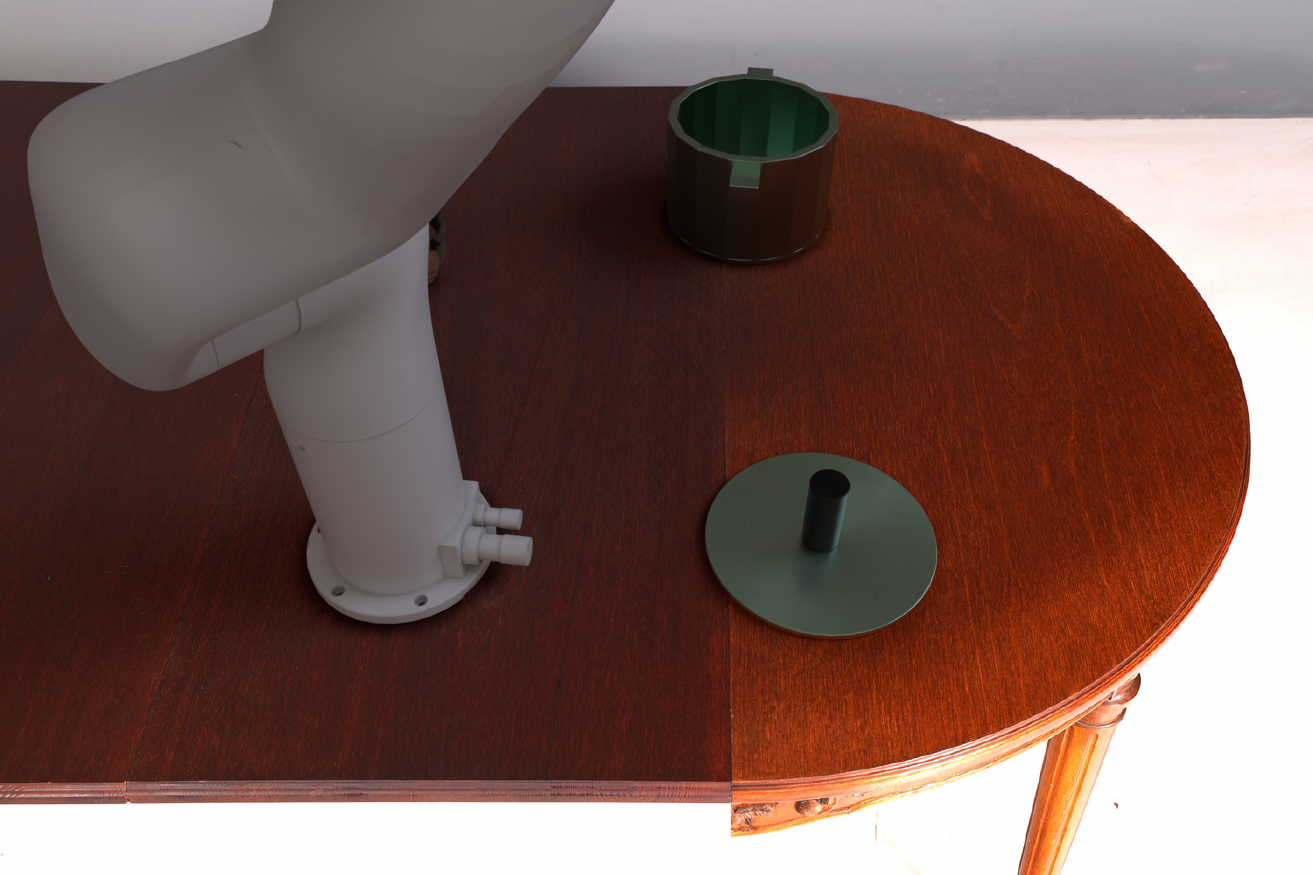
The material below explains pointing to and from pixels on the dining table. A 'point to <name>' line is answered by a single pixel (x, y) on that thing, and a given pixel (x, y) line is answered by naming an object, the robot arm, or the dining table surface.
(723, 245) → the pot
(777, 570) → the lid
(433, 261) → the pottery mug
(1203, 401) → the dining table surface
